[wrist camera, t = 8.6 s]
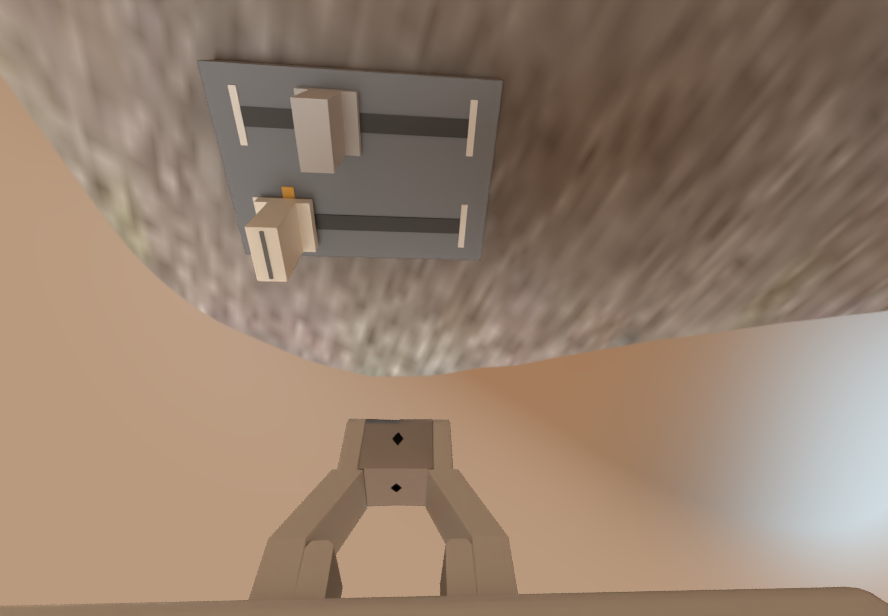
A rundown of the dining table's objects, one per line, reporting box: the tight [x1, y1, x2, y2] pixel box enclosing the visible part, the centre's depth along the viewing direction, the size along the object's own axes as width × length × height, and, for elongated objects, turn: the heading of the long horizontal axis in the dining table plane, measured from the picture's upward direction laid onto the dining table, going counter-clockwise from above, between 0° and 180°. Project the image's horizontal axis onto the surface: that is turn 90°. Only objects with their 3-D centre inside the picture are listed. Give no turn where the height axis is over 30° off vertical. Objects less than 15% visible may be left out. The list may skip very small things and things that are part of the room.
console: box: [197, 60, 503, 260], centre depth 22 cm, size 16×11×7 cm
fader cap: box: [245, 197, 318, 282], centre depth 22 cm, size 3×3×5 cm
